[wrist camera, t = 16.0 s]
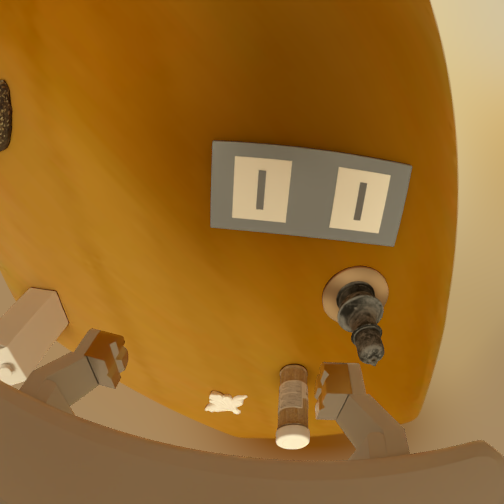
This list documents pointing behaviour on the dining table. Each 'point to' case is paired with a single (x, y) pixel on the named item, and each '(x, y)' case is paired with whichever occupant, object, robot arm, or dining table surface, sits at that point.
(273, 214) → the label board
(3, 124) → the bread roll
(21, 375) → the milk carton
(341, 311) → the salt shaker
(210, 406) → the acanthus leaf ornament
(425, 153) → the dining table surface
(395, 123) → the dining table surface
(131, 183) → the dining table surface
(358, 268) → the coaster
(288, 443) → the sprinkles bottle
